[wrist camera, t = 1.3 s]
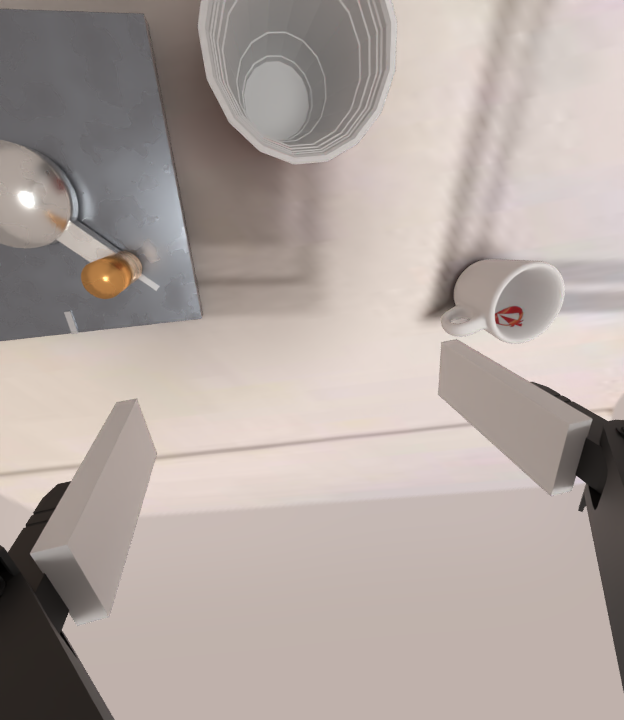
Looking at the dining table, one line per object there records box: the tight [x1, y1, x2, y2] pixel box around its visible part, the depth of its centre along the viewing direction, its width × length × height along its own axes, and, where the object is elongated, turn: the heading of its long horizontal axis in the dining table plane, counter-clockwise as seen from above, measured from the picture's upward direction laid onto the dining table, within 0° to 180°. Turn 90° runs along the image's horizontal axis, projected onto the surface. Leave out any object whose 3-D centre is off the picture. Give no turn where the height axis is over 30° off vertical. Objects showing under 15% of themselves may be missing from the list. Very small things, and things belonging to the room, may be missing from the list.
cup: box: [441, 259, 565, 344], centre depth 36 cm, size 11×8×8 cm
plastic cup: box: [197, 0, 397, 164], centre depth 24 cm, size 11×11×12 cm
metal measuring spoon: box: [0, 140, 142, 299], centre depth 25 cm, size 13×7×6 cm, turn 48°
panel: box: [0, 9, 203, 341], centre depth 27 cm, size 22×20×2 cm
